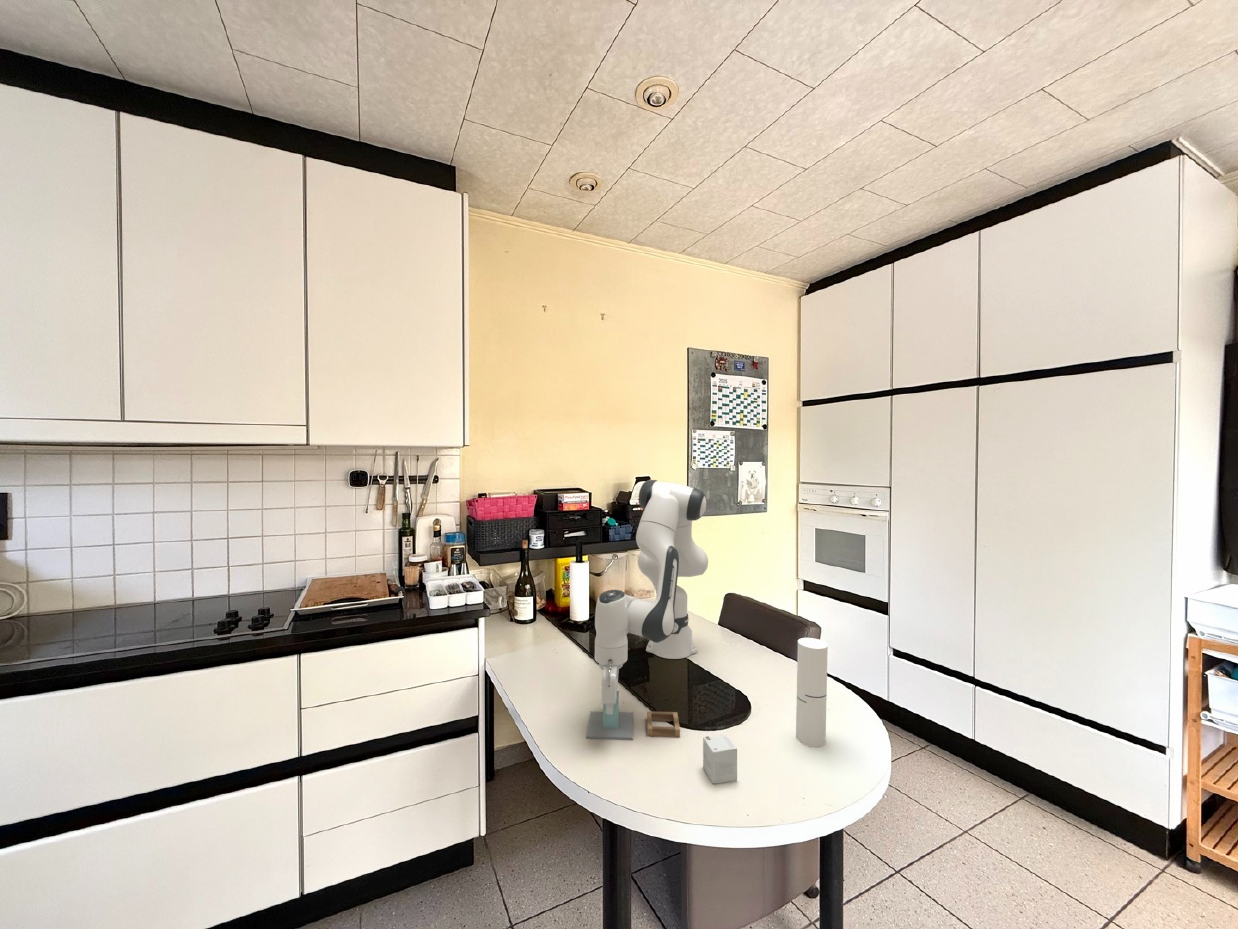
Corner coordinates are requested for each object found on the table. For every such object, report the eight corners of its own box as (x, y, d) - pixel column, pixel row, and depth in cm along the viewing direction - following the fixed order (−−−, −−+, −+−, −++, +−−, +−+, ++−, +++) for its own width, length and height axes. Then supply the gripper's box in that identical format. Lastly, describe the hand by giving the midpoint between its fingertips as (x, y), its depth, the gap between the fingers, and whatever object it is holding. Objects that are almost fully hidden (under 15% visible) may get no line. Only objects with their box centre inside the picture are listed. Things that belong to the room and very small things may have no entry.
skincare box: (737, 781, 109) (738, 748, 109) (712, 784, 108) (712, 752, 108) (726, 764, 115) (726, 733, 115) (702, 767, 114) (702, 736, 114)
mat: (590, 713, 137) (590, 711, 137) (633, 714, 136) (633, 712, 136) (586, 738, 125) (586, 736, 125) (632, 740, 124) (632, 737, 124)
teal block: (603, 719, 132) (604, 690, 132) (618, 719, 132) (618, 690, 132) (602, 727, 128) (603, 697, 128) (617, 728, 128) (618, 698, 128)
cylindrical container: (822, 750, 121) (825, 651, 120) (793, 741, 124) (795, 644, 124) (827, 736, 127) (829, 641, 126) (799, 727, 130) (801, 635, 130)
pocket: (646, 718, 134) (646, 711, 134) (677, 719, 134) (677, 712, 134) (647, 736, 126) (647, 728, 126) (679, 737, 126) (680, 729, 125)
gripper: (621, 670, 119) (621, 725, 120) (623, 638, 140) (623, 685, 140) (596, 670, 120) (595, 725, 120) (602, 637, 140) (601, 685, 141)
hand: (610, 703), depth 130 cm, fingers open, 8 cm apart
